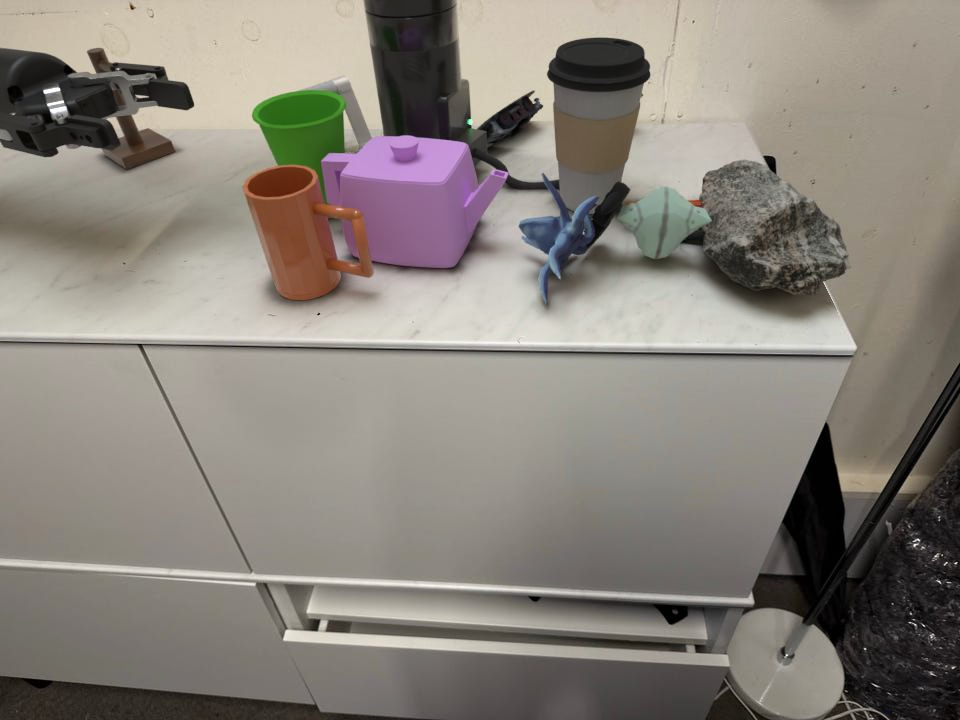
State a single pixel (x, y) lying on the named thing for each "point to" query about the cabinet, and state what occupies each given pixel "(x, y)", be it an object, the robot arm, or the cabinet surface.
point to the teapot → (411, 198)
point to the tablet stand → (348, 106)
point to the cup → (303, 128)
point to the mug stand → (130, 128)
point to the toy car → (510, 119)
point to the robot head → (662, 221)
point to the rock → (768, 231)
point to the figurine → (569, 230)
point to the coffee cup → (595, 113)
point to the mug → (301, 232)
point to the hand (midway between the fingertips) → (153, 115)
